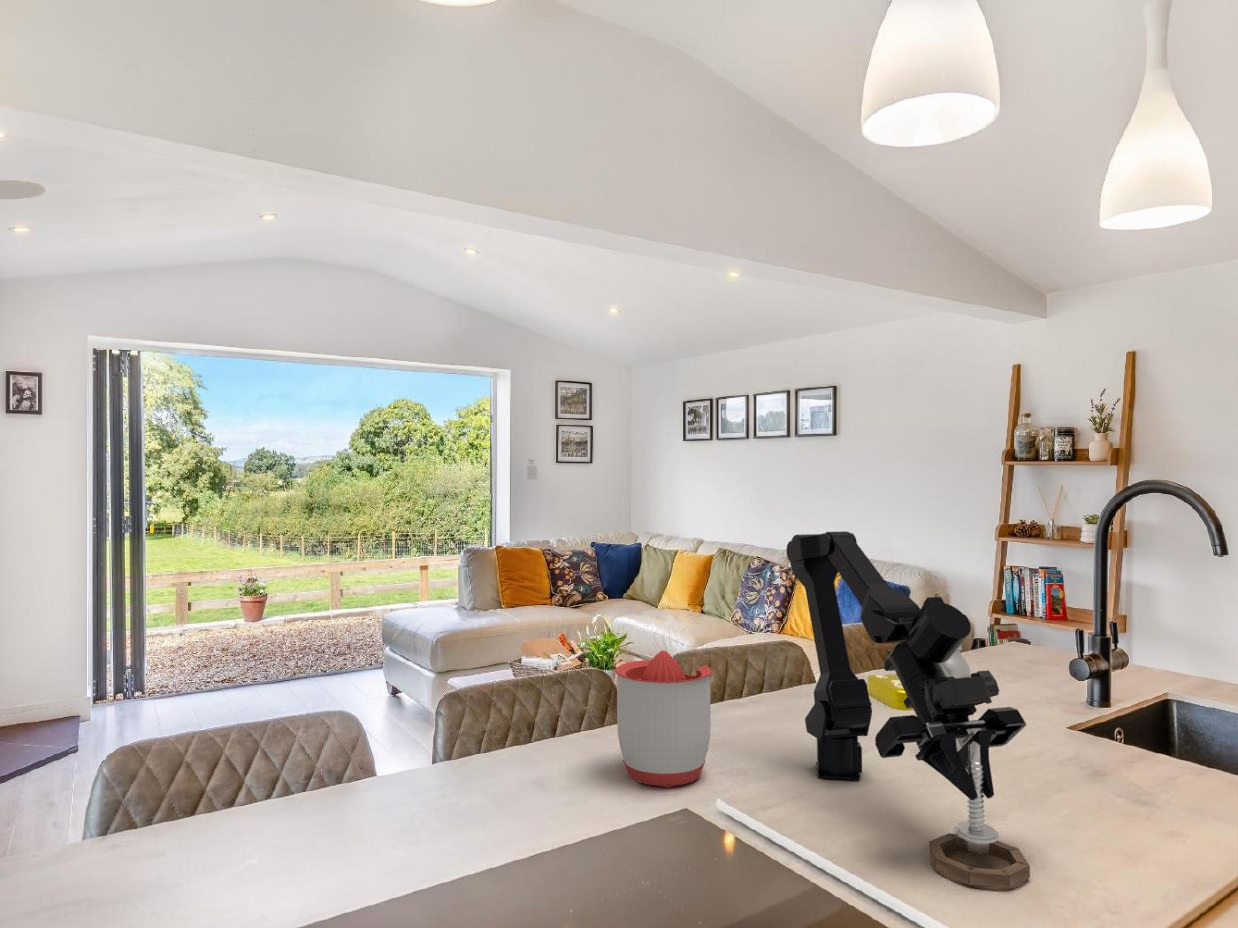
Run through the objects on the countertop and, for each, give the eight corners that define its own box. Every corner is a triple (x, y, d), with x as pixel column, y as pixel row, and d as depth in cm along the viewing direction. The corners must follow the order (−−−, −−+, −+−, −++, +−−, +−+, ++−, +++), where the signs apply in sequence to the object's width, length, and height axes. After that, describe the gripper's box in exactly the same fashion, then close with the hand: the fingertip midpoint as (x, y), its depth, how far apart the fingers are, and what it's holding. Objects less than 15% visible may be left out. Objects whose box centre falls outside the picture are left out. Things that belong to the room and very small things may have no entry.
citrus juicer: (738, 770, 128) (737, 647, 129) (671, 802, 115) (669, 665, 116) (664, 749, 139) (663, 636, 139) (595, 776, 126) (595, 650, 127)
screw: (946, 843, 96) (977, 836, 98) (977, 861, 92) (1008, 853, 94) (943, 737, 97) (974, 732, 98) (973, 749, 92) (1005, 744, 94)
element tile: (964, 709, 165) (963, 686, 165) (897, 712, 163) (896, 689, 163) (926, 691, 180) (925, 670, 180) (864, 694, 177) (864, 672, 178)
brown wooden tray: (940, 885, 91) (940, 869, 91) (923, 844, 101) (922, 830, 101) (1039, 894, 88) (1039, 878, 89) (1011, 851, 99) (1011, 837, 99)
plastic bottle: (977, 763, 131) (975, 642, 132) (934, 760, 132) (932, 641, 133) (968, 750, 137) (966, 635, 138) (927, 748, 139) (925, 634, 139)
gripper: (886, 652, 97) (945, 774, 86) (1014, 644, 102) (1085, 759, 91) (853, 699, 105) (903, 816, 94) (973, 689, 109) (1035, 801, 98)
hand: (983, 797), depth 94 cm, fingers closed on screw, 2 cm apart
